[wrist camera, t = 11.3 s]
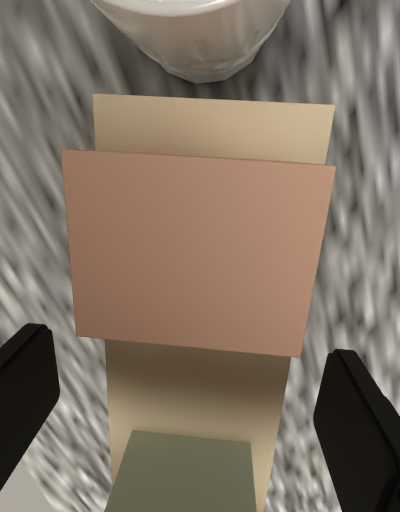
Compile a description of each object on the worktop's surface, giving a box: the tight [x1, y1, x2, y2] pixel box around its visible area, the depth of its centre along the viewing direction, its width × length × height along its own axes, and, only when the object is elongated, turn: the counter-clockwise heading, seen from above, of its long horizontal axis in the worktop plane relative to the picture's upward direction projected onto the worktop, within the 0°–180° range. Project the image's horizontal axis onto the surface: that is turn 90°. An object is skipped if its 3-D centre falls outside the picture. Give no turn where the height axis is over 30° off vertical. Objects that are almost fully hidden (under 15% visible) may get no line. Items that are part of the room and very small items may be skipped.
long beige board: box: [93, 94, 335, 512], centre depth 14 cm, size 18×7×5 cm, turn 177°
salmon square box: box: [61, 149, 337, 357], centre depth 8 cm, size 4×5×4 cm
